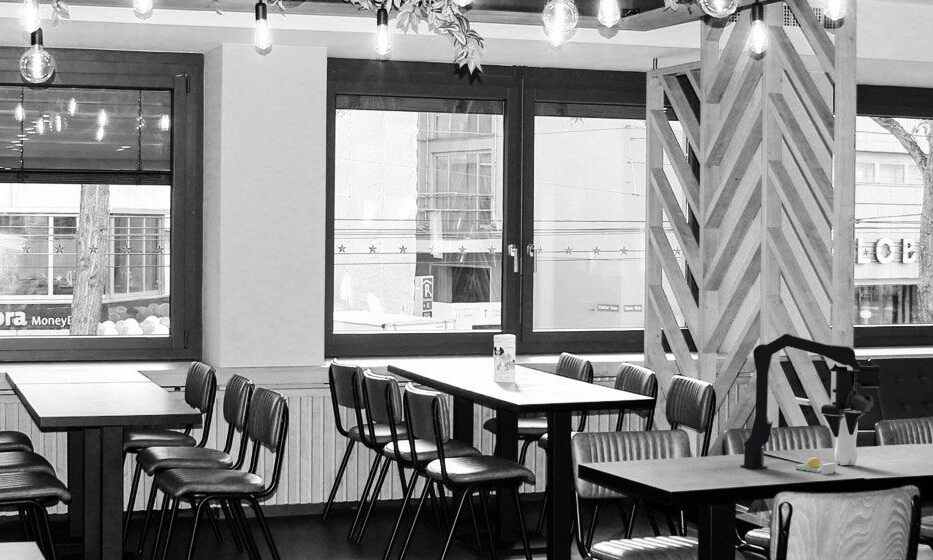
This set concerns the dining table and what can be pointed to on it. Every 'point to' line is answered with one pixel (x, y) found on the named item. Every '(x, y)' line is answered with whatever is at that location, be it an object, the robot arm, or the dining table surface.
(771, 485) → the dining table surface
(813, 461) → the ball
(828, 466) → the wall
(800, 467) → the dish
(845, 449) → the water bottle
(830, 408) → the robot arm
